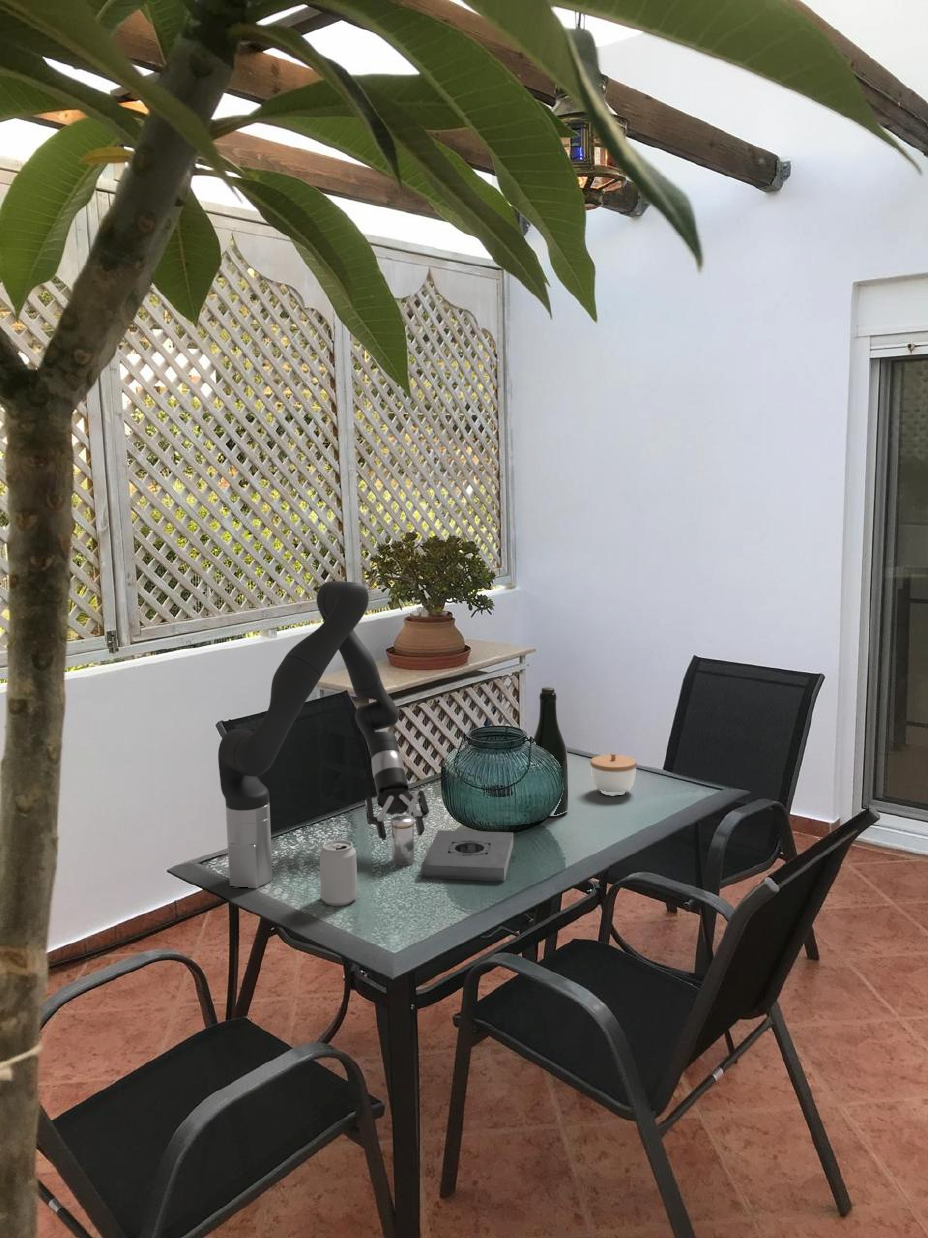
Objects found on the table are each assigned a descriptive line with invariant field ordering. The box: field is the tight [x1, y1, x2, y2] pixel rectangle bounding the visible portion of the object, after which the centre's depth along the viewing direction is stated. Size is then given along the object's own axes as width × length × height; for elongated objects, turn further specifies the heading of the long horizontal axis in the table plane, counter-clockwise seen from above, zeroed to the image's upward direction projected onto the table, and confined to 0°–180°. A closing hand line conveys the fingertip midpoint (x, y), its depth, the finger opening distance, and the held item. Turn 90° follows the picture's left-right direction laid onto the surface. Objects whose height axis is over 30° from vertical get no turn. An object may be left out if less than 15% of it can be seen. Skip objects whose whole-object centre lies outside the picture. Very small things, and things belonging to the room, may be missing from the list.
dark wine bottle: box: [532, 686, 570, 815], centre depth 251 cm, size 10×10×33 cm
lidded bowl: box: [590, 752, 637, 792], centre depth 268 cm, size 13×13×11 cm
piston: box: [390, 815, 415, 867], centre depth 220 cm, size 5×5×10 cm
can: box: [318, 839, 358, 907], centre depth 199 cm, size 8×8×12 cm
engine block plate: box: [421, 829, 514, 882], centre depth 220 cm, size 22×18×3 cm
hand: (402, 836), depth 220 cm, fingers open, 8 cm apart
